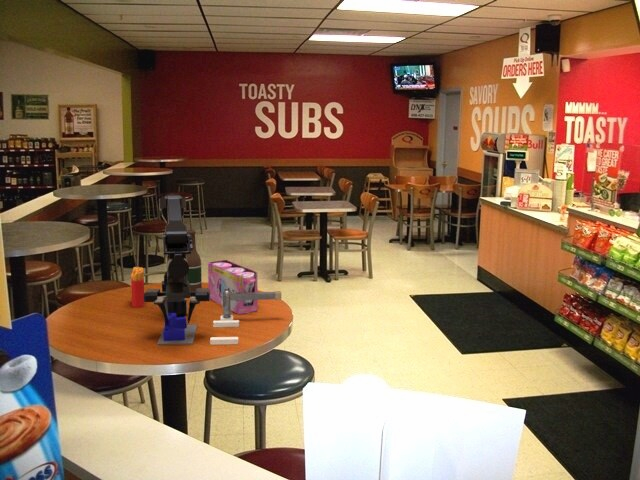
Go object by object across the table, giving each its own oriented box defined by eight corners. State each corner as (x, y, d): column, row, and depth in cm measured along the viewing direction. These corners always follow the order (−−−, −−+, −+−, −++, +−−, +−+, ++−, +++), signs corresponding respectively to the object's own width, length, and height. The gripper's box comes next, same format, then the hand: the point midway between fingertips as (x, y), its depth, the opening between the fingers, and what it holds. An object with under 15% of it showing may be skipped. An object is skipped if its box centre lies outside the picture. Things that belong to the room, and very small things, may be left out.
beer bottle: (177, 295, 222) (176, 231, 217) (185, 290, 229) (184, 227, 225) (197, 297, 221) (196, 232, 216) (205, 291, 228) (204, 228, 224)
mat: (157, 345, 174) (157, 343, 174) (164, 326, 189) (164, 325, 189) (192, 344, 175) (192, 343, 175) (197, 325, 191) (197, 324, 190)
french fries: (131, 301, 214) (130, 265, 211) (144, 300, 215) (142, 264, 213) (132, 309, 205) (131, 271, 203) (145, 308, 207) (144, 271, 204)
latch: (281, 316, 198) (281, 290, 196) (223, 318, 195) (222, 292, 193) (280, 314, 200) (280, 288, 199) (223, 315, 197) (222, 289, 196)
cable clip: (166, 313, 187) (186, 312, 188) (167, 327, 188) (186, 326, 189) (162, 326, 175) (184, 325, 176) (163, 341, 176) (184, 339, 177)
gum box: (260, 312, 206) (260, 273, 203) (240, 316, 201) (240, 276, 199) (227, 295, 225) (226, 259, 222) (207, 298, 220) (207, 261, 218)
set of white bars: (210, 344, 175) (210, 339, 175) (214, 318, 198) (214, 314, 198) (238, 344, 176) (238, 339, 176) (239, 318, 199) (239, 313, 199)
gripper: (139, 277, 169) (141, 331, 171) (207, 276, 171) (208, 330, 173) (146, 270, 180) (147, 321, 182) (209, 269, 182) (210, 319, 184)
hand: (178, 323), depth 180 cm, fingers open, 6 cm apart
